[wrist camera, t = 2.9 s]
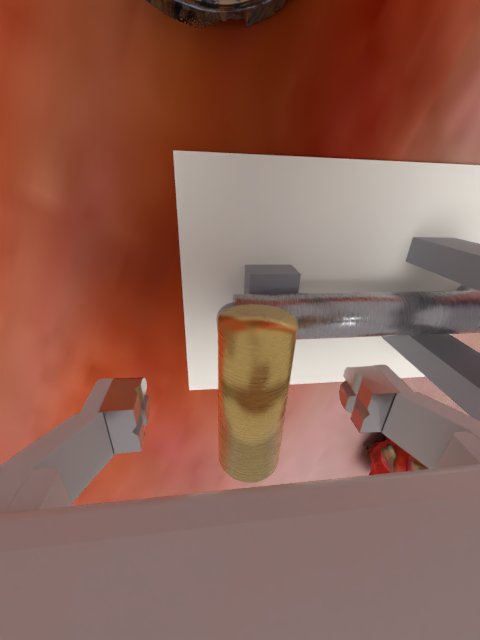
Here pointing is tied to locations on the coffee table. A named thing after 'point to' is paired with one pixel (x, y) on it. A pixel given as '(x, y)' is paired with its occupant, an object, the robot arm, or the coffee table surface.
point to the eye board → (328, 253)
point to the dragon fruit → (391, 458)
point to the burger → (218, 10)
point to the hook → (278, 351)
